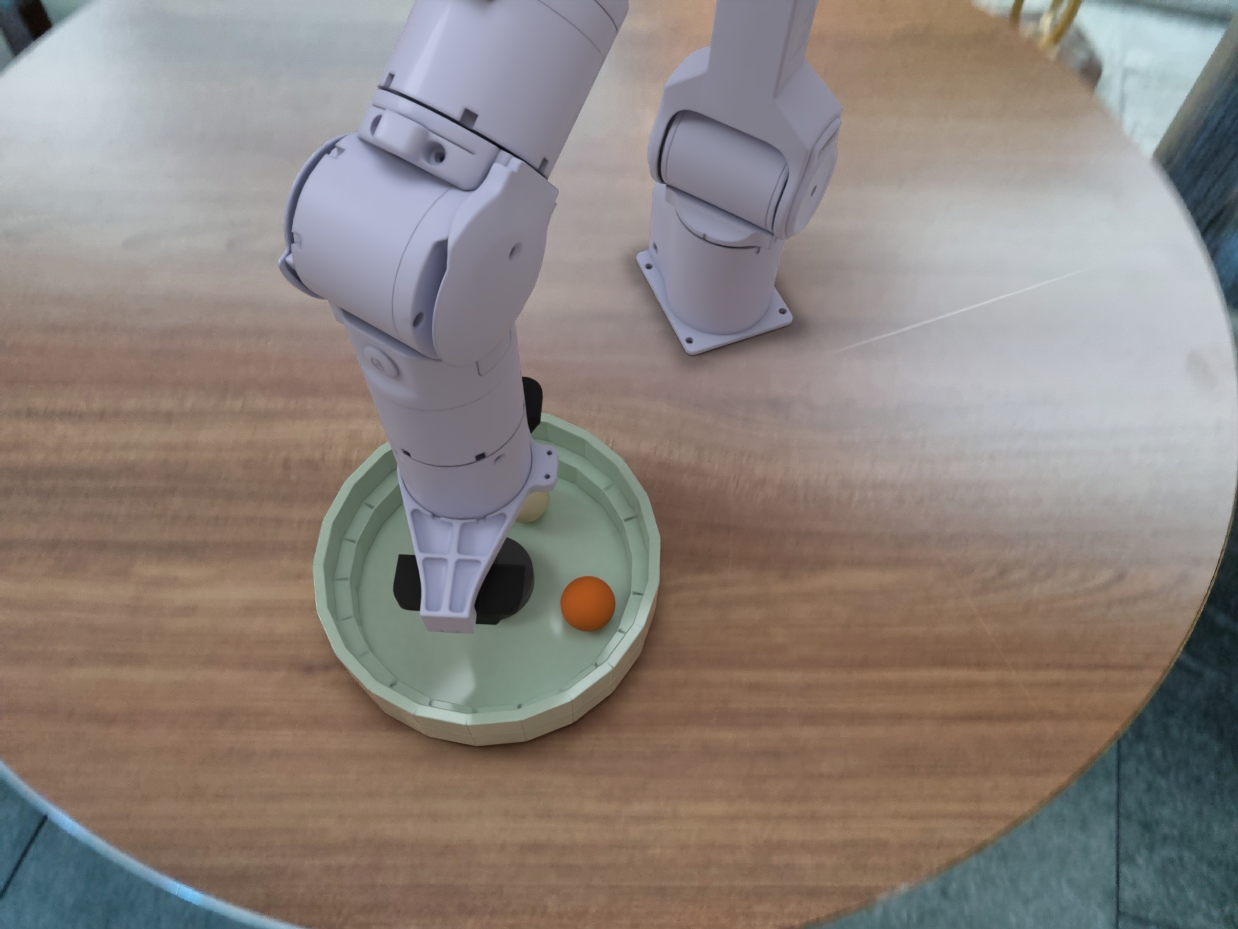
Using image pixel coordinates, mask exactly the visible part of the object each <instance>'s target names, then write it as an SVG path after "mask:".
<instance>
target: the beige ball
mask: <svg viewBox="0 0 1238 929" xmlns="http://www.w3.org/2000/svg"><path fill="white" fill-rule="evenodd" d="M548 503H549V491H547V492H533V493H532V494H530V495H529V496H528V498H527V499H526V501H525V503H524V505H523V507H522V509H521V511H520V513H519V515H518V516H517V518H516V520H515V522H519V523H528V522H532V521H534V520H536V519H538V518H539V517H540V516H541V515H542V514H543V513H544V512H545V510H546V509H547V506H548Z"/></svg>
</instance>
